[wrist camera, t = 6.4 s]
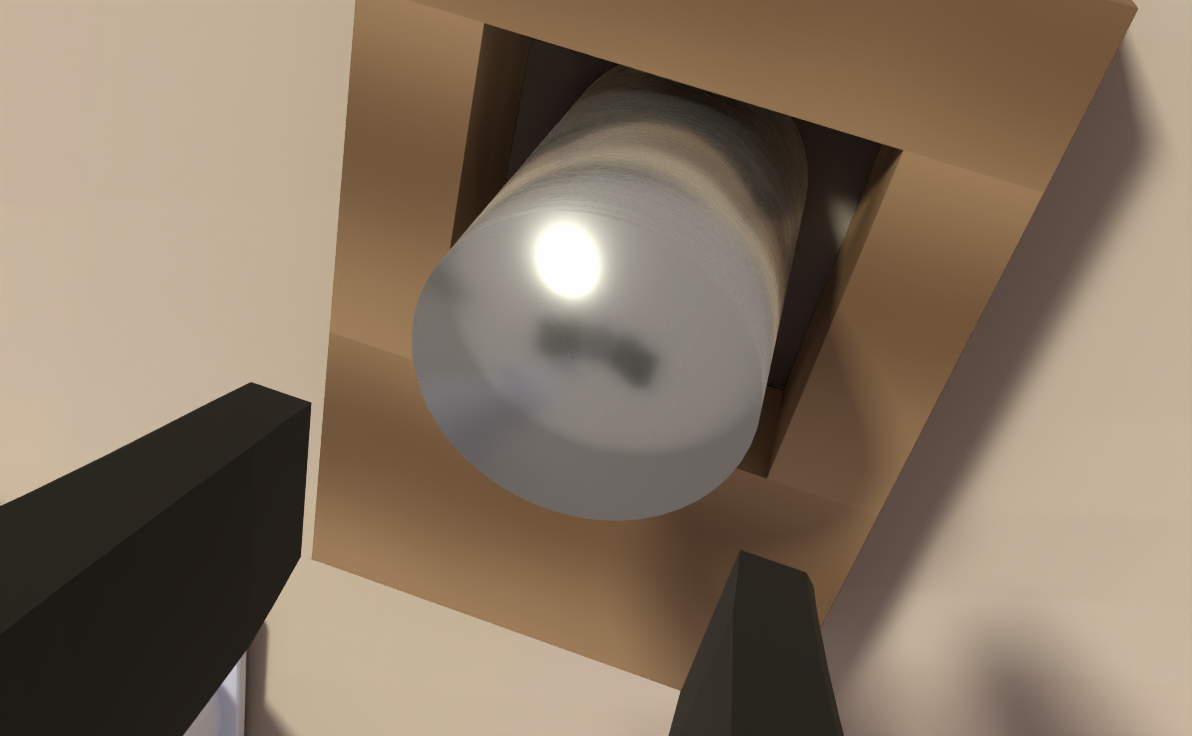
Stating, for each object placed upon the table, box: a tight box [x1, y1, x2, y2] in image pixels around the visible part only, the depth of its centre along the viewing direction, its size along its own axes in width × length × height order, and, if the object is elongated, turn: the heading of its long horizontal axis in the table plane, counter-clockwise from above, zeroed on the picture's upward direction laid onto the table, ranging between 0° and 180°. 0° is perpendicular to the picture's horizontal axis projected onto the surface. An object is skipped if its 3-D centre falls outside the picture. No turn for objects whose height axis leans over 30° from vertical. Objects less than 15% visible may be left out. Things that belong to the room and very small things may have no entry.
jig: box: [312, 0, 1138, 691], centre depth 16 cm, size 13×9×2 cm
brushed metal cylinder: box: [412, 64, 808, 521], centre depth 14 cm, size 4×4×6 cm
